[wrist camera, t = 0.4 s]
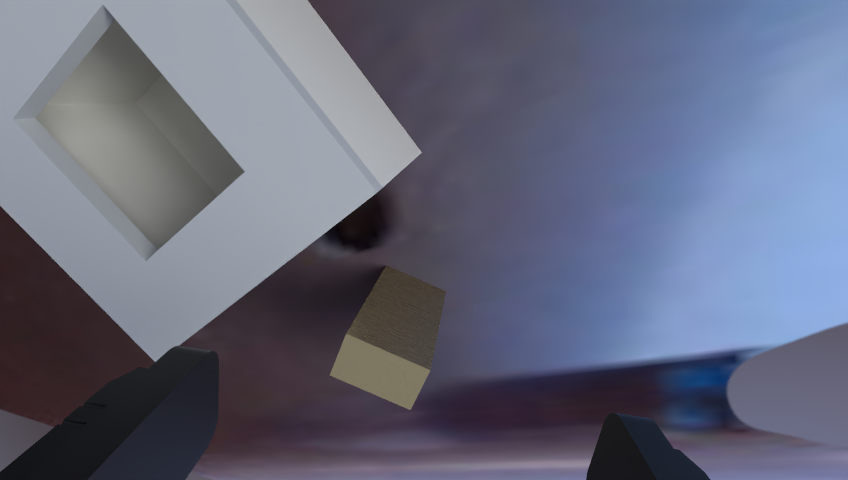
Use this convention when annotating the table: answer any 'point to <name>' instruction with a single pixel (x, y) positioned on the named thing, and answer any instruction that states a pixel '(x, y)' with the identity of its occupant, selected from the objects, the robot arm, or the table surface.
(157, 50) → the box
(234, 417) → the table surface
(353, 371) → the tan rectangular block
